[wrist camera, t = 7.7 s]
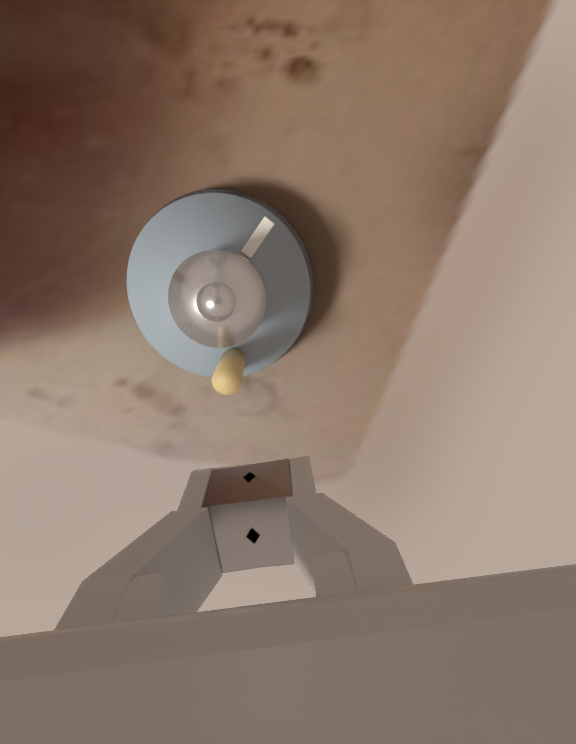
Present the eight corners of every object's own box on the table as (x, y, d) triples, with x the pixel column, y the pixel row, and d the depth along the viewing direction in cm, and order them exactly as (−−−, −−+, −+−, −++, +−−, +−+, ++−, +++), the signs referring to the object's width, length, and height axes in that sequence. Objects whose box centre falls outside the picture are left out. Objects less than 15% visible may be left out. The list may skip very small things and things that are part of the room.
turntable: (243, 155, 21) (235, 127, 16) (339, 315, 25) (357, 331, 20) (95, 264, 23) (48, 268, 18) (205, 401, 26) (190, 436, 21)
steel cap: (234, 232, 22) (227, 228, 18) (282, 306, 23) (284, 317, 19) (163, 281, 22) (143, 287, 19) (215, 350, 24) (205, 368, 20)
